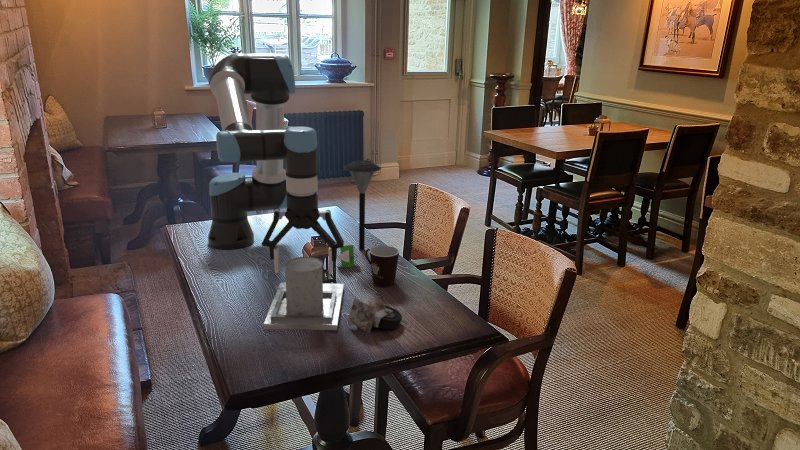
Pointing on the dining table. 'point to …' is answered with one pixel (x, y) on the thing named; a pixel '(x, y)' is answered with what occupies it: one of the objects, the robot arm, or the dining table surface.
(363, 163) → the solar garden light
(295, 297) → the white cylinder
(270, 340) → the dining table surface
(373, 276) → the coffee mug
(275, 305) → the carrier plate
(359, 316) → the caster wheel
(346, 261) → the geometric puzzle
